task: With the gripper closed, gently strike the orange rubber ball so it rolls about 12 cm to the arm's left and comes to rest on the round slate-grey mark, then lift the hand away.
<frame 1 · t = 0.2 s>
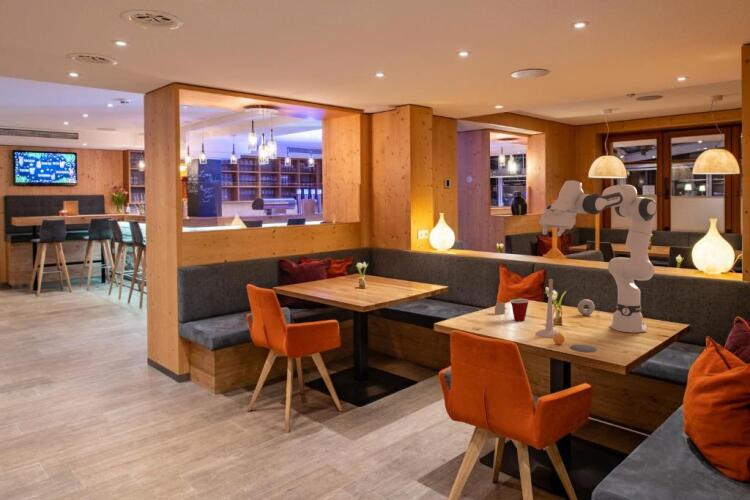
hand: (550, 235, 273), 54 cm above the table, tool tilted 30°, fingers open, 8 cm apart
donut: (585, 315, 336), on the table
architectural model: (499, 314, 342), on the table
candlestick: (549, 335, 293), on the table
plastic cup: (519, 320, 325), on the table
ball: (558, 338, 275), on the table
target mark: (583, 348, 268), on the table
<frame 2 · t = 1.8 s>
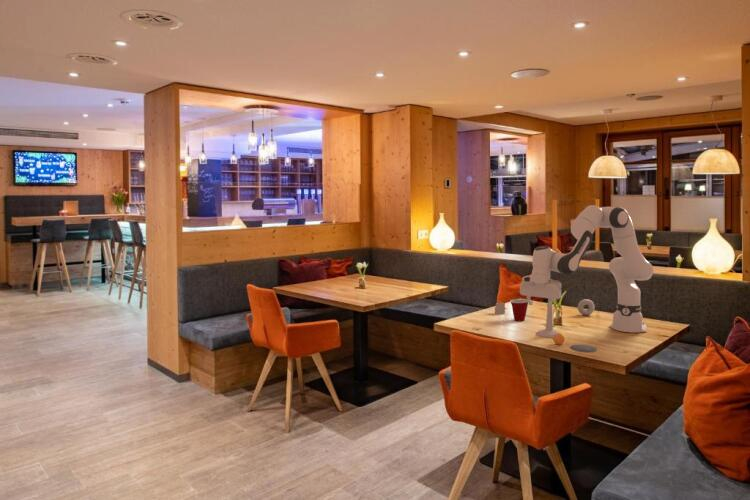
hand: (539, 306, 279), 18 cm above the table, tool pointing down, fingers open, 8 cm apart
nothing on the table moved.
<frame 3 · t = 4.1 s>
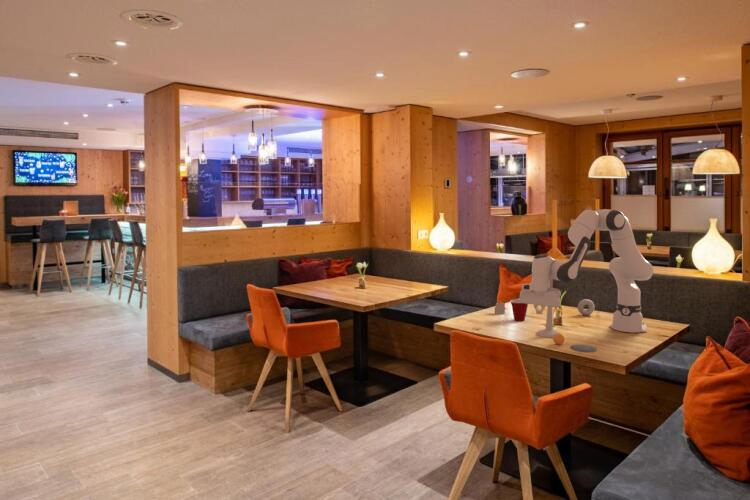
hand: (539, 313, 280), 14 cm above the table, tool pointing down, fingers closed
nothing on the table moved.
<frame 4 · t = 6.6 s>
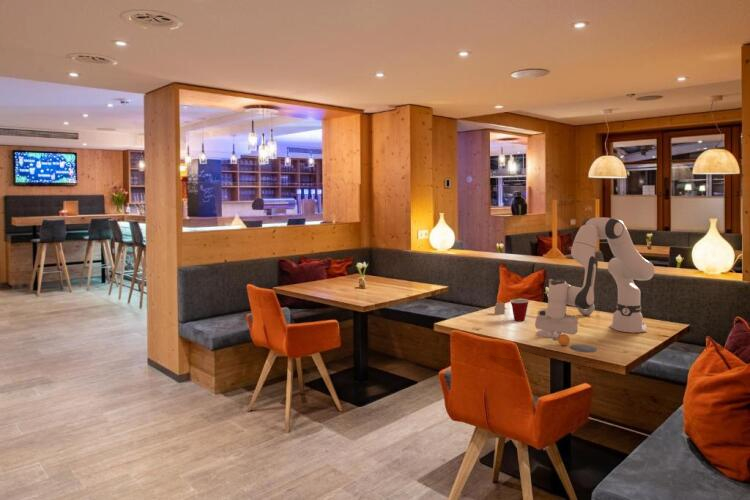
hand: (555, 340, 276), 2 cm above the table, tool pointing down, fingers closed
ball: (563, 339, 274), on the table, touching gripper
everything else where it was.
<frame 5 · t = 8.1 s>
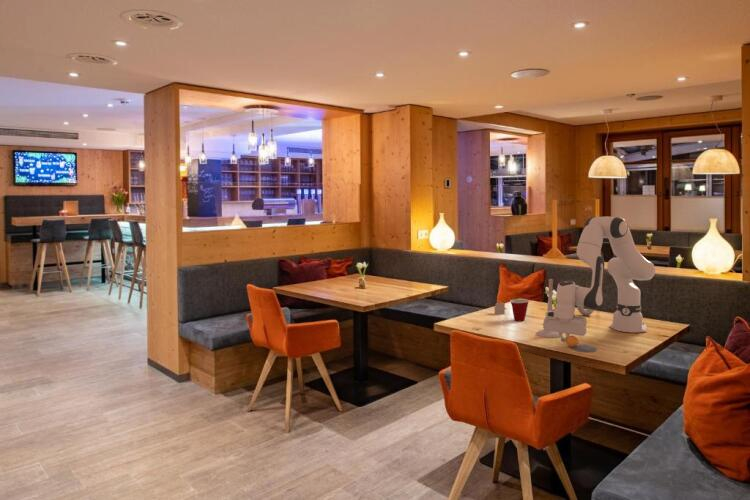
hand: (563, 341, 274), 2 cm above the table, tool pointing down, fingers closed
ball: (572, 341, 271), on the table, touching gripper
everything else where it was.
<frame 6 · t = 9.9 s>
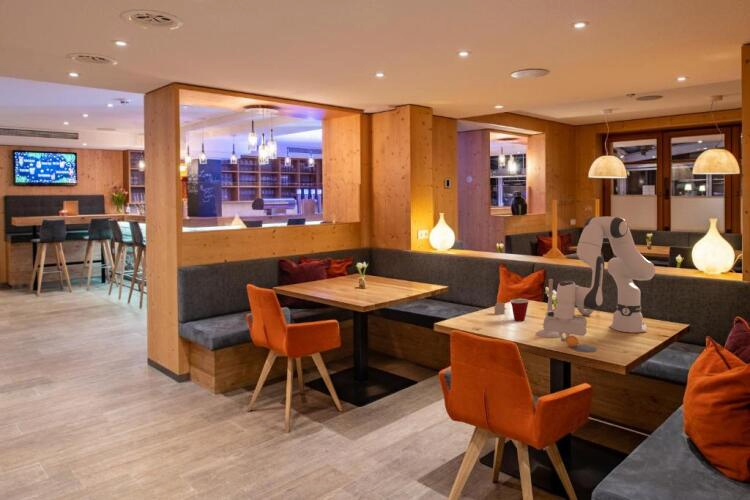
hand: (563, 341, 274), 2 cm above the table, tool pointing down, fingers closed
nothing on the table moved.
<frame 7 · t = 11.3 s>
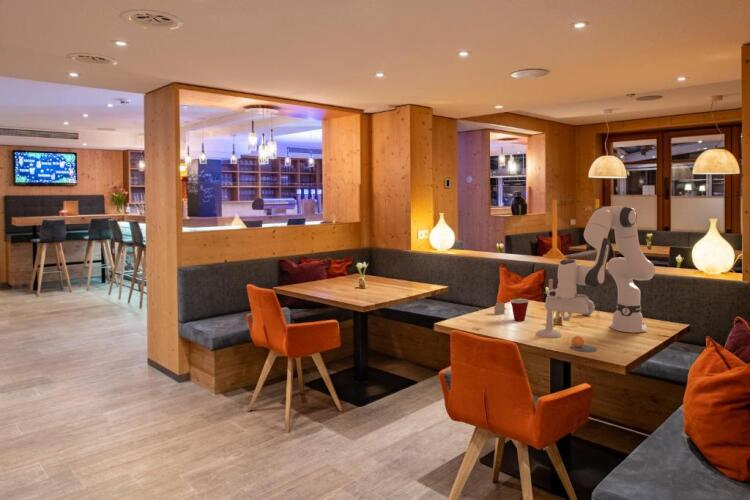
hand: (566, 320, 273), 12 cm above the table, tool pointing down, fingers closed
ball: (577, 341, 270), on the table
everything else where it was.
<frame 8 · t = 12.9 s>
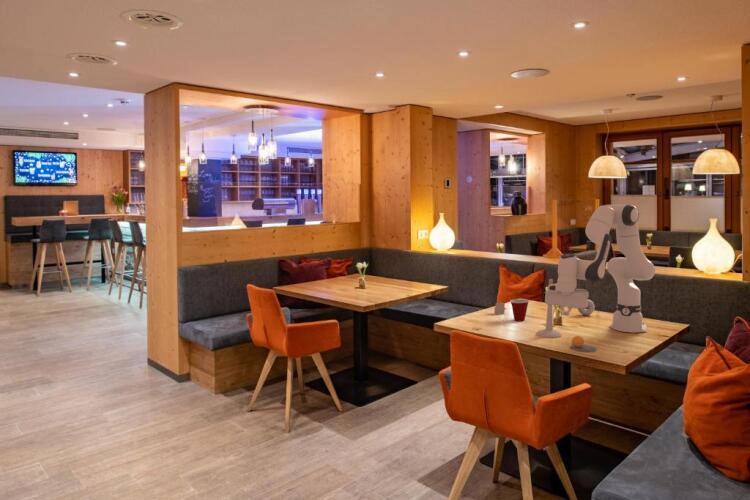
hand: (565, 315, 272), 15 cm above the table, tool pointing down, fingers closed
nothing on the table moved.
at the end: ball 2.9 cm from the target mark (horizontally); ball at rest at the end (0.0 cm/s); ball moved 9.2 cm from its start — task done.
